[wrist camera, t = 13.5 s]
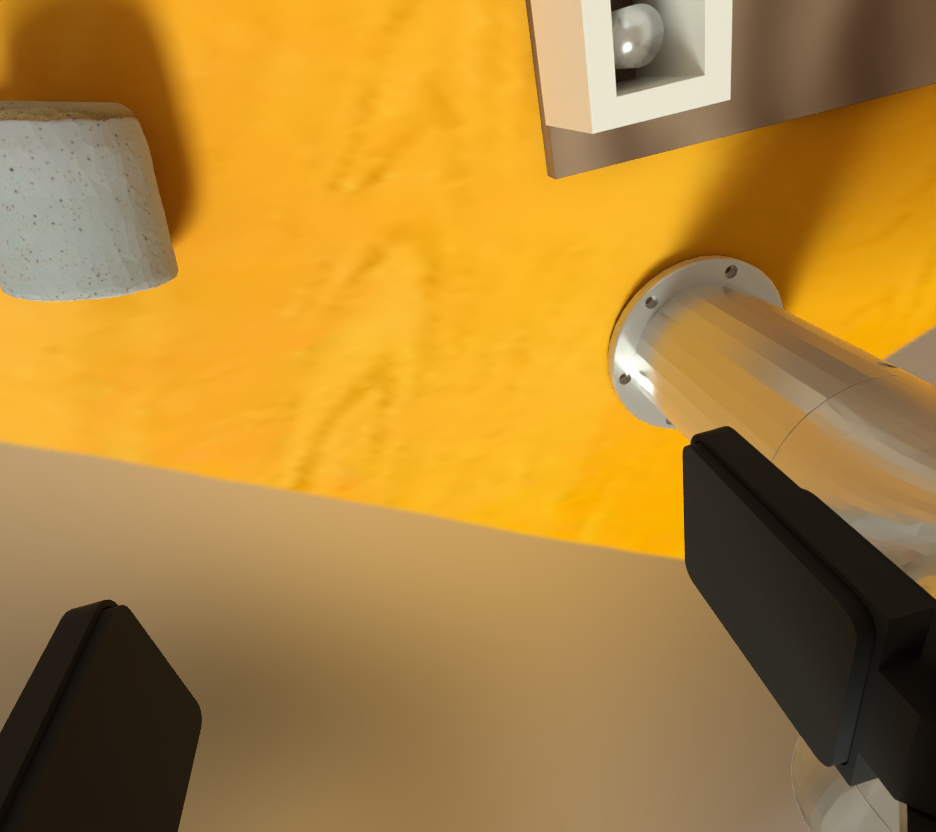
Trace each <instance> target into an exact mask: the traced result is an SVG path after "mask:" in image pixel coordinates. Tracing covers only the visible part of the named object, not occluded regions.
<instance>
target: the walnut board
mask: <svg viewBox="0 0 936 832" xmlns="http://www.w3.org/2000/svg"><path fill="white" fill-rule="evenodd" d="M610 3H611V11H614V10H618V9H621V8H625V7H628V6H632V5H633V2H632V0H610ZM526 7H527V15H528V23H529V31H530V39H531V47H532V54H533V62H534V70H535V78H536V86H537V94H538V102H539V110H540V117H541V125H542V133H543V141H544V149H545V157H546V165H547V172H548V176H549V177H552V178H554V179H559V178H563V177H567V176H571V175H575V174H579V173H583V172H587V171H590V170H594V169H598V168H602V167H606V166H610V165H614V164H618V163H622V162H626V161H630V160H634V159H638V158H642V157H646V156H650V155H654V154H658V153H662V152H666V151H670V150H674V149H678V148H681V147H685V146H689V145H693V144H697V143H701V142H705V141H709V140H713V139H717V138H721V137H725V136H729V135H733V134H737V133H741V132H745V131H749V130H753V129H757V128H761V127H765V126H768V125H772V124H776V123H780V122H784V121H788V120H792V119H796V118H800V117H804V116H808V115H812V114H816V113H820V112H824V111H828V110H832V109H836V108H840V107H844V106H848V105H852V104H856V103H859V102H863V101H867V100H871V99H875V98H879V97H883V96H887V95H891V94H895V93H899V92H903V91H907V90H911V89H915V88H919V87H923V86H927V85H931V84H935V83H936V0H733V1H732V48H731V95H730V100H727V101H723V102H719V103H715V104H711V105H707V106H703V107H699V108H695V109H691V110H687V111H683V112H679V113H675V114H671V115H667V116H663V117H659V118H655V119H651V120H647V121H642V122H638V123H634V124H630V125H626V126H622V127H618V128H614V129H610V130H606V131H602V132H598V133H594V134H590V133H585V132H580V131H574V130H569V129H564V128H558V127H553V126H548V125H546V122H545V114H544V106H543V98H542V89H541V81H540V73H539V65H538V57H537V49H536V41H535V33H534V24H533V16H532V8H531V0H526ZM633 78H636V68H628V69H615V79H616V82H620V81H625V80H629V79H633Z"/></svg>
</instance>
